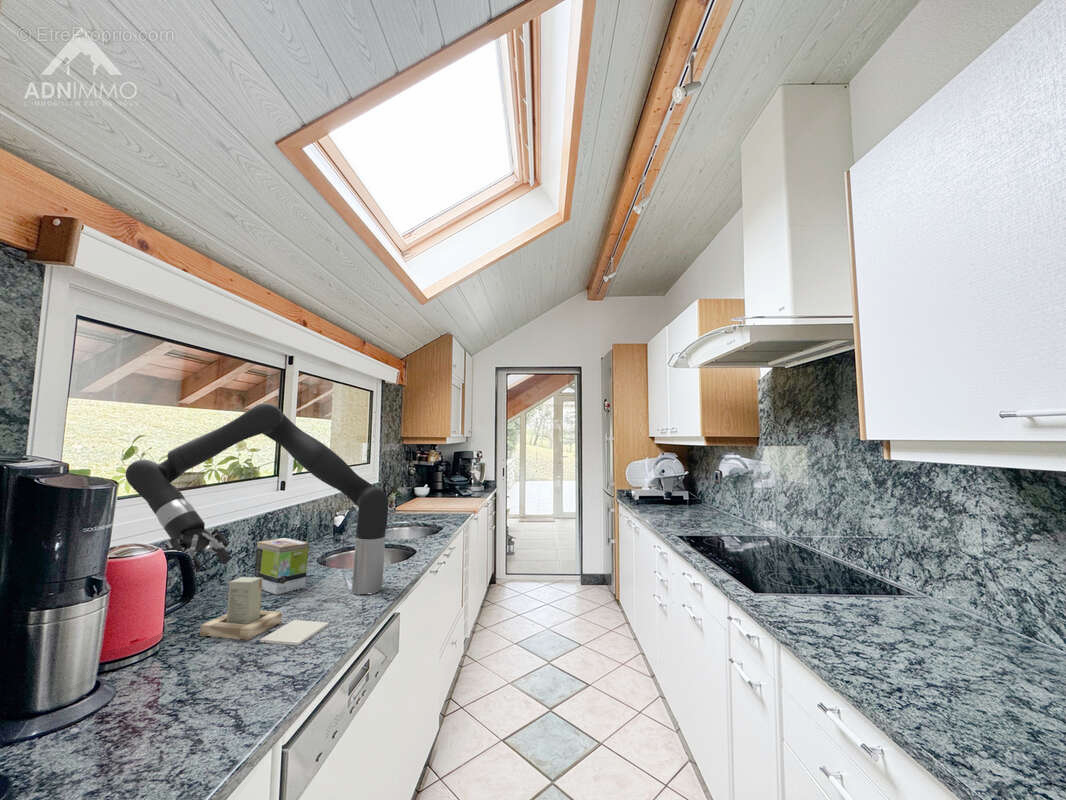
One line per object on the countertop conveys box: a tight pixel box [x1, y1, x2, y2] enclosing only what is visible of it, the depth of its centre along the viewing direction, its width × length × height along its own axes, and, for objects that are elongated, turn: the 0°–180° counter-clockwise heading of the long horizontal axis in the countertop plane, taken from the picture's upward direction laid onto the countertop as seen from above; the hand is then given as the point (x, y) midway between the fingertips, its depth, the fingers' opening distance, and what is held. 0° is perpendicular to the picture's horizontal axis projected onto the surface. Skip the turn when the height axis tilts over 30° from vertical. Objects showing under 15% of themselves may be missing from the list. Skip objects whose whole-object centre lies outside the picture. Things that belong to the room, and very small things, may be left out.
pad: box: [259, 619, 330, 646], centre depth 107 cm, size 12×10×1 cm
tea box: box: [253, 537, 310, 596], centre depth 142 cm, size 15×10×15 cm, turn 58°
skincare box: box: [226, 576, 263, 625], centre depth 110 cm, size 6×4×12 cm
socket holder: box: [199, 610, 283, 641], centre depth 109 cm, size 11×13×2 cm
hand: (213, 566), depth 112 cm, fingers open, 8 cm apart
